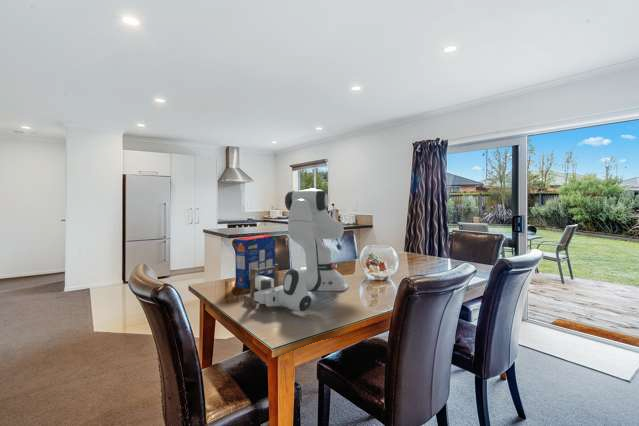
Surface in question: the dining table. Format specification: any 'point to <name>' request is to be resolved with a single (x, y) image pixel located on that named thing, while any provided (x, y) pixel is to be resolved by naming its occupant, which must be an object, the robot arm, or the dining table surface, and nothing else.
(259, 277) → the mug
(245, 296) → the wooden rack frame
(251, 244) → the pasta box
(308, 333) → the dining table surface
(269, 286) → the grey corked bottle
